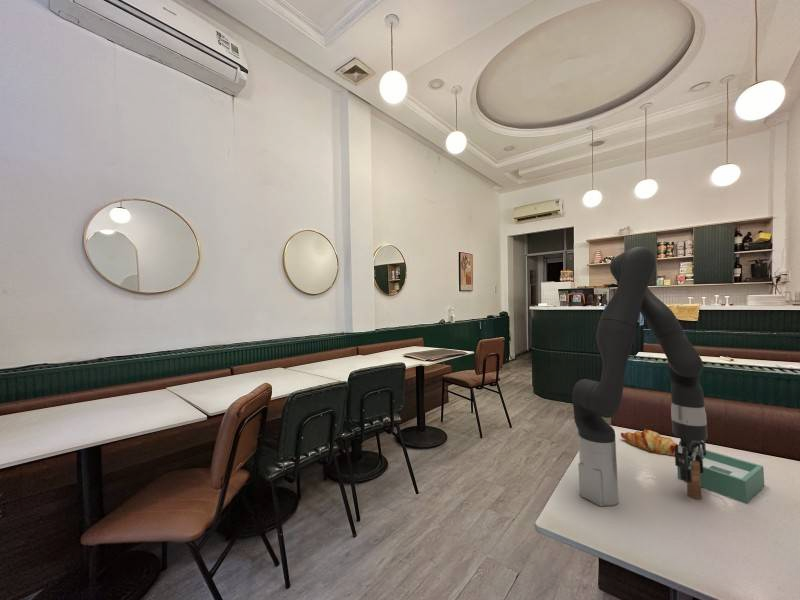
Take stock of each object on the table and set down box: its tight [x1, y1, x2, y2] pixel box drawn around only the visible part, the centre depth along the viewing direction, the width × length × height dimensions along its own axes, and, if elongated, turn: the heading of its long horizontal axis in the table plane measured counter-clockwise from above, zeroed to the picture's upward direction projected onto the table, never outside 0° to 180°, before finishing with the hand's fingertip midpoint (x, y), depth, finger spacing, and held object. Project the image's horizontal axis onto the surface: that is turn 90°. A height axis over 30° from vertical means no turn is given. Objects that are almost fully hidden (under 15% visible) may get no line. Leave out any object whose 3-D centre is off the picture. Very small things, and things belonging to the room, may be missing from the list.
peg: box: [686, 460, 703, 501], centre depth 90 cm, size 3×3×10 cm
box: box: [676, 449, 766, 504], centre depth 97 cm, size 15×15×6 cm
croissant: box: [620, 429, 679, 457], centre depth 120 cm, size 21×10×8 cm, turn 39°
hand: (692, 476), depth 91 cm, fingers open, 8 cm apart
